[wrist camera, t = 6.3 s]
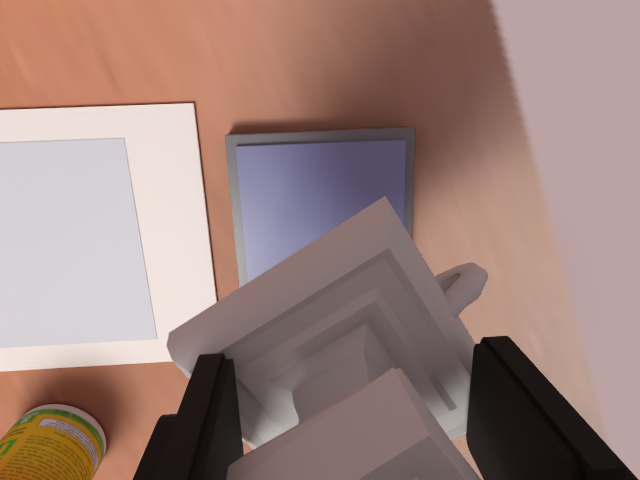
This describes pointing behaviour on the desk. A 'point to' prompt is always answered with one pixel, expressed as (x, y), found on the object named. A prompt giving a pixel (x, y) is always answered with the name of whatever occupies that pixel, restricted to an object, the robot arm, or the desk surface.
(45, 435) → the supplement bottle
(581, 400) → the desk surface
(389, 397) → the stamp
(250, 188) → the ink pad
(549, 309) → the desk surface
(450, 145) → the desk surface
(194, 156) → the paper
